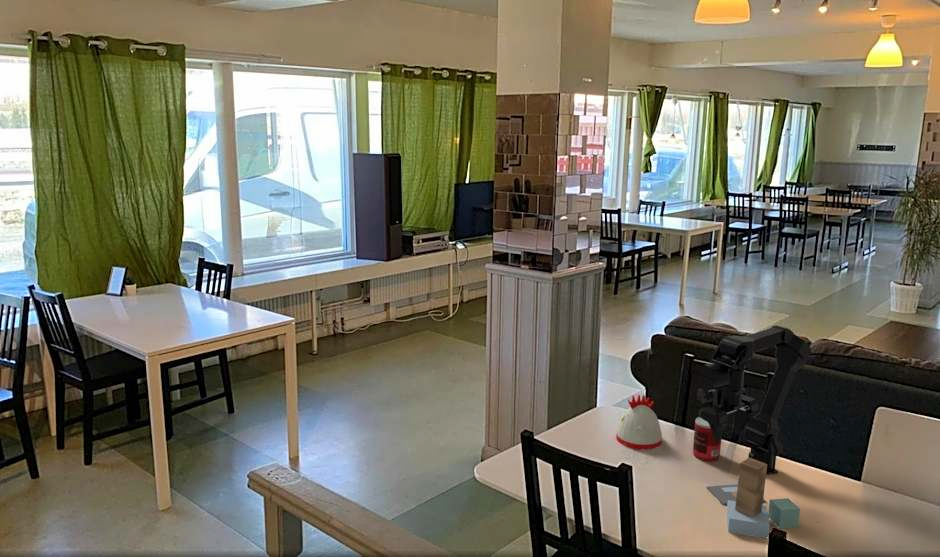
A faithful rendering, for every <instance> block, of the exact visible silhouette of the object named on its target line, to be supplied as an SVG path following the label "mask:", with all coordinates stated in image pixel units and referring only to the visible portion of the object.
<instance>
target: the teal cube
mask: <svg viewBox="0 0 940 557" xmlns="http://www.w3.org/2000/svg"><path fill="white" fill-rule="evenodd" d="M800 512H801V508H800V507H799V506H797V505H796V504H795V503H794V502H793V501H792V500H791V499H790V498H789V497H788V498H775V499H774V498H773V499H769V503H768V510H767V513H768V518H770V519H771V520H772V521H773V522H774V523H775V524H776V525H777V526H778V527H779V528H778V527H777V526H776V525H775V524H774V523H773V522H772V521H771V520H770V519H769V520H770V521H771V522H772V523H773V524H774V525H775V526H776V527H777V528H778V529H787V528H789V529H790V528H798V527H799V521H800V515H801V514H800Z"/></svg>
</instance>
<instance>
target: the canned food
mask: <svg viewBox="0 0 940 557" xmlns="http://www.w3.org/2000/svg"><path fill="white" fill-rule="evenodd" d="M693 432H694V433H693V446H692V453H693V456H694V457H695V458H697V459H698V460H701V461H706V462H715V461H717V460H718V459H719V458H720V455H721V445H722V437H723V435H722V436H721V439H720V441H719V443H716V442H714V439H713V435H712V431H711V428H710V426H709V423H708V422H707V421H705V420H703V419H702V418H700V417H699V416H698V417H696V418H695V421H694V431H693Z"/></svg>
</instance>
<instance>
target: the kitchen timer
mask: <svg viewBox="0 0 940 557" xmlns="http://www.w3.org/2000/svg"><path fill="white" fill-rule="evenodd" d="M650 399H651V398H649V397H647V398H646V396H645V394H644V393H643V394H642V396H641V395H640V394H638V395H637V399H635V395H632V396H631V401H630V399H627V401H628V404H629V408H628V409H626V410H625V412H624V413H623V414H622V416H621V418H620V421H619V423H618V425H617V428H616V434H615V435H616V437H615V438H616V441H617V442H618V443H619V444H621V445H622V446H625V447H627V448H630V449H633V450H635V449H636V450H647V451H648V450H653V449H657V448H659V447H660V446H661V445H662V443H663V435H662V430H661V429H662V428H661V424H660V421H659V419H658V416H657V414H656V413H655V412H654V410H652V407H653V405H654V400H652V401H651V402H650ZM658 446H659V447H658ZM656 447H657V448H656Z"/></svg>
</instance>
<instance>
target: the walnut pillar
mask: <svg viewBox="0 0 940 557" xmlns="http://www.w3.org/2000/svg"><path fill="white" fill-rule="evenodd" d="M766 471H767V464H765V463H763V462H760V461H757V460H755V459H752V458H746V459H744V460H743V461H740V464H739V470H738V472H739V474H738V480H737V485H738V488H737V497H736V506H735V510H737V511H739V512H741V513H743V514H746V515H748V516H750V517H754V516H755V515H757V514H759V513H760V512H762V505H763V503H764V502H763V499H764V496H765V495H764V494H765V487H766V486H765V485H766V479H767V474H766Z"/></svg>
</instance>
